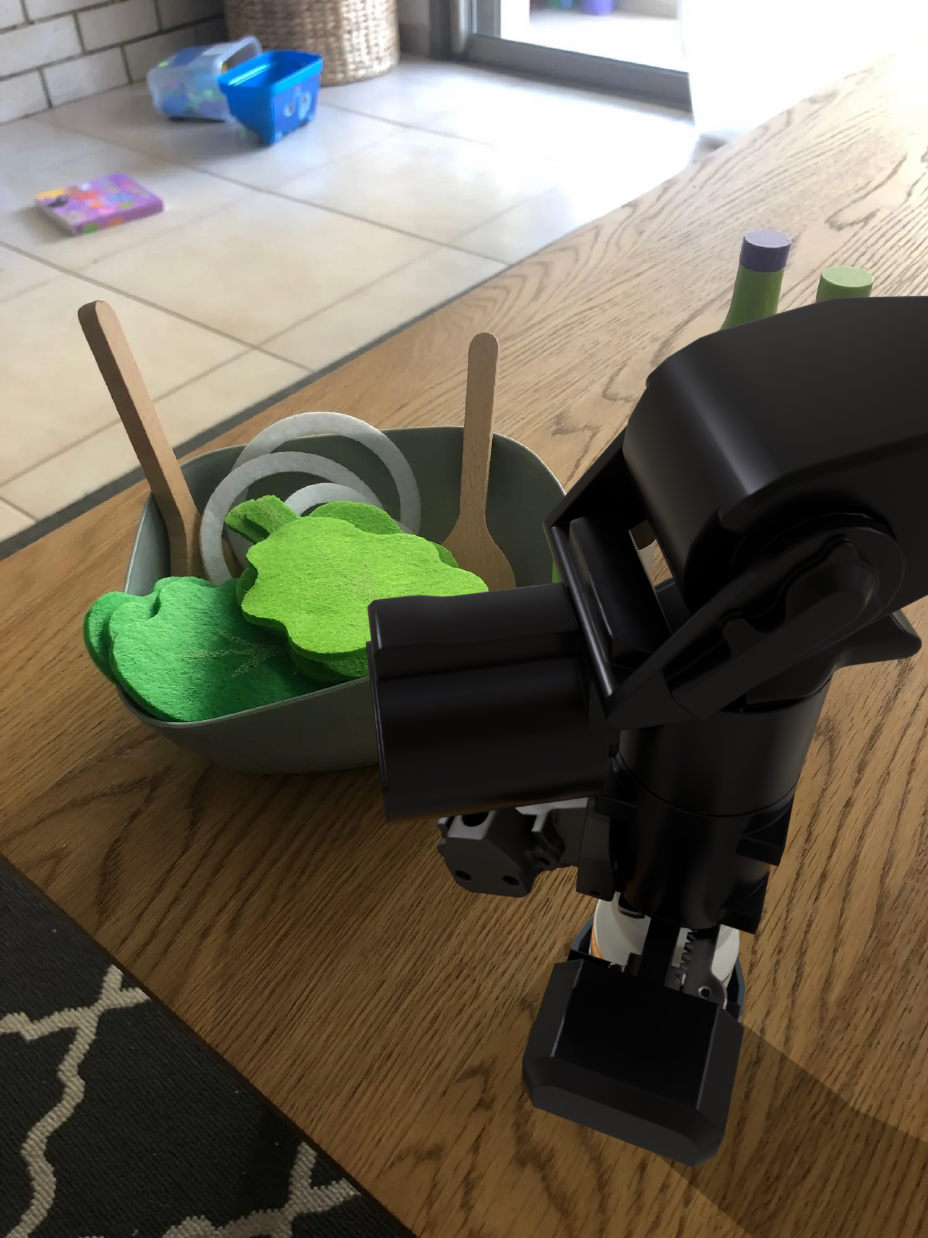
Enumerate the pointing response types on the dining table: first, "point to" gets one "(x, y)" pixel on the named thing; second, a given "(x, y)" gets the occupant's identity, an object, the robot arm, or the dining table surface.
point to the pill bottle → (628, 935)
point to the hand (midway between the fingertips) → (657, 978)
